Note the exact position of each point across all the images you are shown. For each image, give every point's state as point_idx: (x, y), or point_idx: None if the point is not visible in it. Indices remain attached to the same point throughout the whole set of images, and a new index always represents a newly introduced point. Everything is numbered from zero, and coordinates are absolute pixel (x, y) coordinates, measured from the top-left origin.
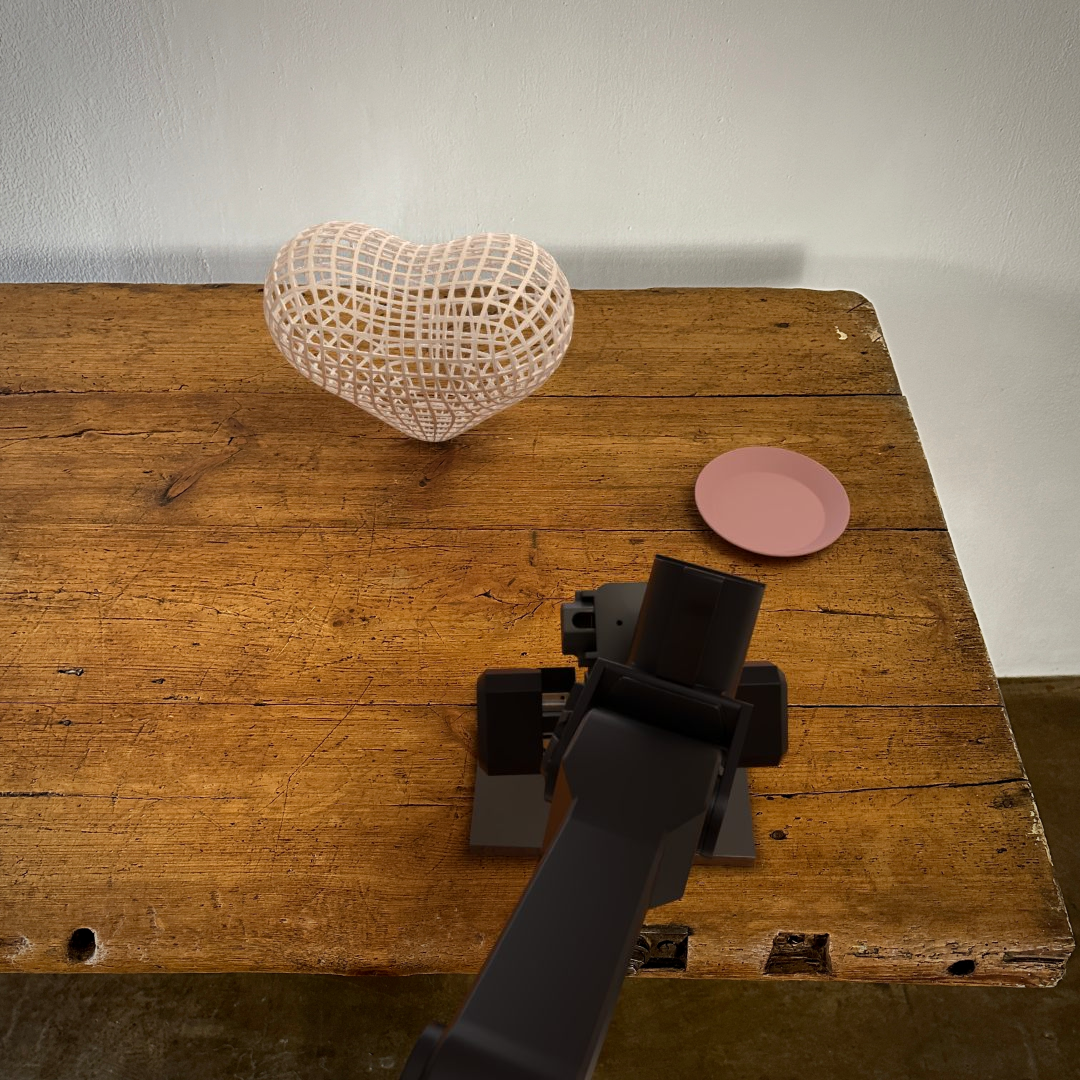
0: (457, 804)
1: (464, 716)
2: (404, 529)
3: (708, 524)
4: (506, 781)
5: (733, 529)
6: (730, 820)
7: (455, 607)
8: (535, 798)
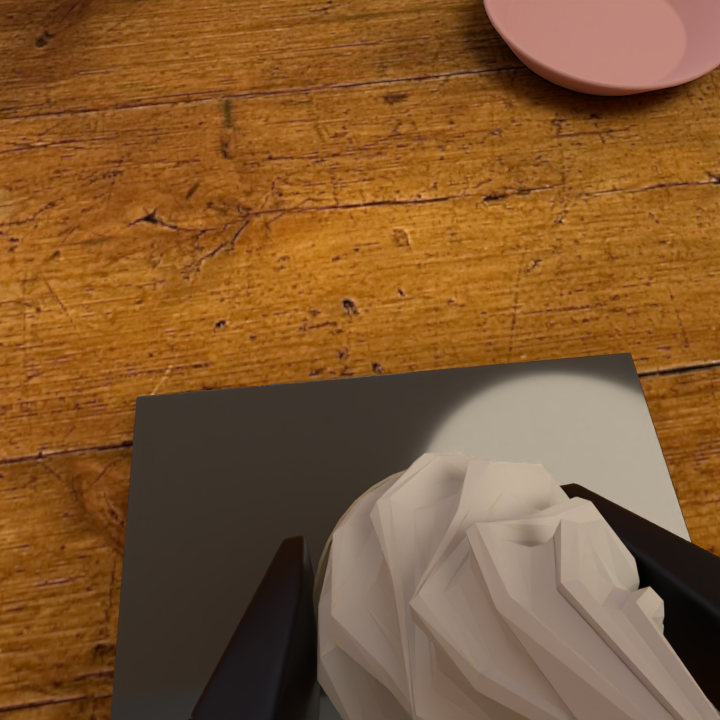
0: (95, 693)
1: (110, 473)
2: (7, 120)
3: (516, 48)
4: (184, 655)
5: (547, 61)
6: None
7: (94, 249)
8: None
